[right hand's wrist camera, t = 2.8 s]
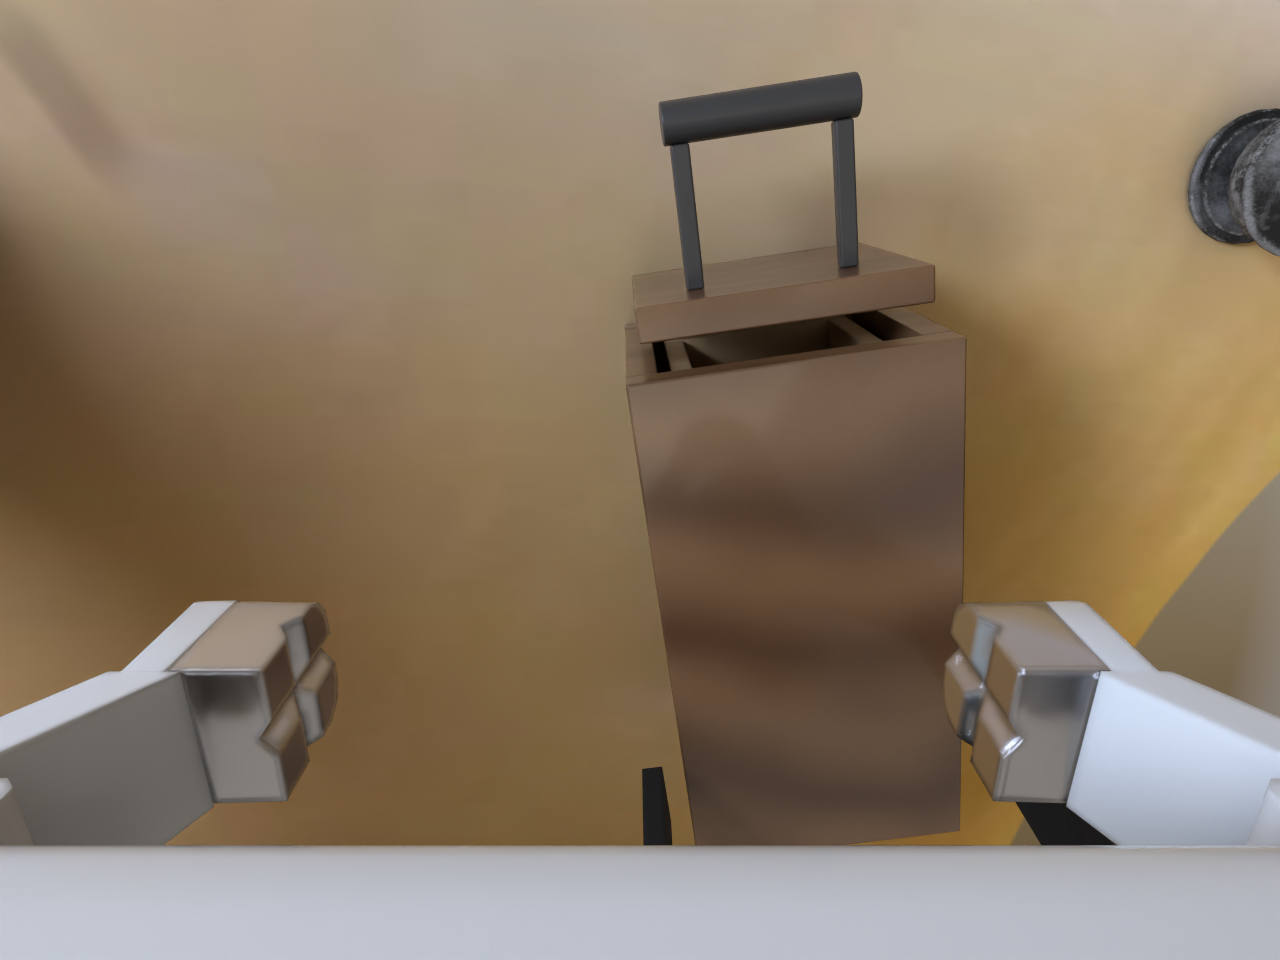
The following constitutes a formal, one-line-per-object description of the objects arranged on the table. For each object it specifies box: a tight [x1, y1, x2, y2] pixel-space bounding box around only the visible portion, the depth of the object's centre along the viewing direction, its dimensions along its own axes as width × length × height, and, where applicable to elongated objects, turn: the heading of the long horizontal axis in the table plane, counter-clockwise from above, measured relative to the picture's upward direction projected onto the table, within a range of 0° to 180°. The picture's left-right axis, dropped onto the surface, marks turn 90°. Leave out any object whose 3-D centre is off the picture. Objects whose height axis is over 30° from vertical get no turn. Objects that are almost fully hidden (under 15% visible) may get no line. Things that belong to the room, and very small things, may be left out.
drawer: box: [632, 72, 935, 372], centre depth 31 cm, size 25×10×9 cm, turn 8°
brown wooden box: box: [625, 307, 966, 845], centre depth 33 cm, size 21×11×11 cm, turn 8°
